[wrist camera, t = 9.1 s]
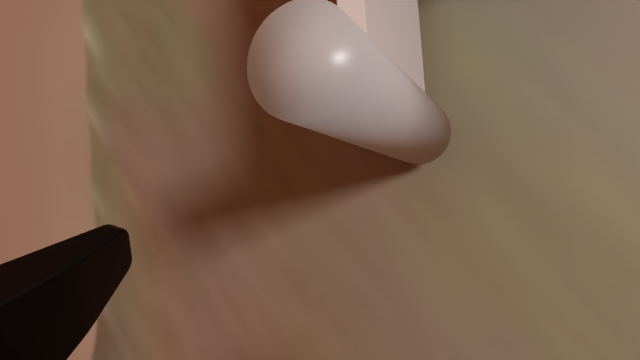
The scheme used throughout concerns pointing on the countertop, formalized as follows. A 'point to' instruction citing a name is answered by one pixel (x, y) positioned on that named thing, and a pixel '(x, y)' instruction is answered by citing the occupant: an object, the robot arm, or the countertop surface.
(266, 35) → the side door
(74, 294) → the robot arm
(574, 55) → the countertop surface
